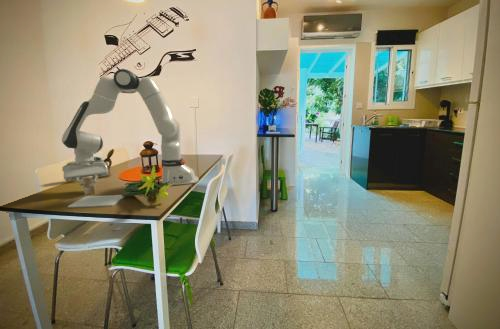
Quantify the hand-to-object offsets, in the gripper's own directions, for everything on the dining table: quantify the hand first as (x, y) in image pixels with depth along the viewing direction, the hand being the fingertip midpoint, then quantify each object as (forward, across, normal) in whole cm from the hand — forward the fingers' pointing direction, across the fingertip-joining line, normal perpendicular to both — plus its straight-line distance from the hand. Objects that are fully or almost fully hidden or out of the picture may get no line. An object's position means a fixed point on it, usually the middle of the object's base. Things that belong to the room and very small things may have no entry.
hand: (88, 183), depth 130 cm
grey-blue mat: (+16, +3, -8) cm, 19 cm away
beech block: (+3, 0, +4) cm, 5 cm away
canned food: (-22, -6, +30) cm, 37 cm away
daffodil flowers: (+26, +21, -18) cm, 38 cm away
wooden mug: (-24, +11, +32) cm, 41 cm away
